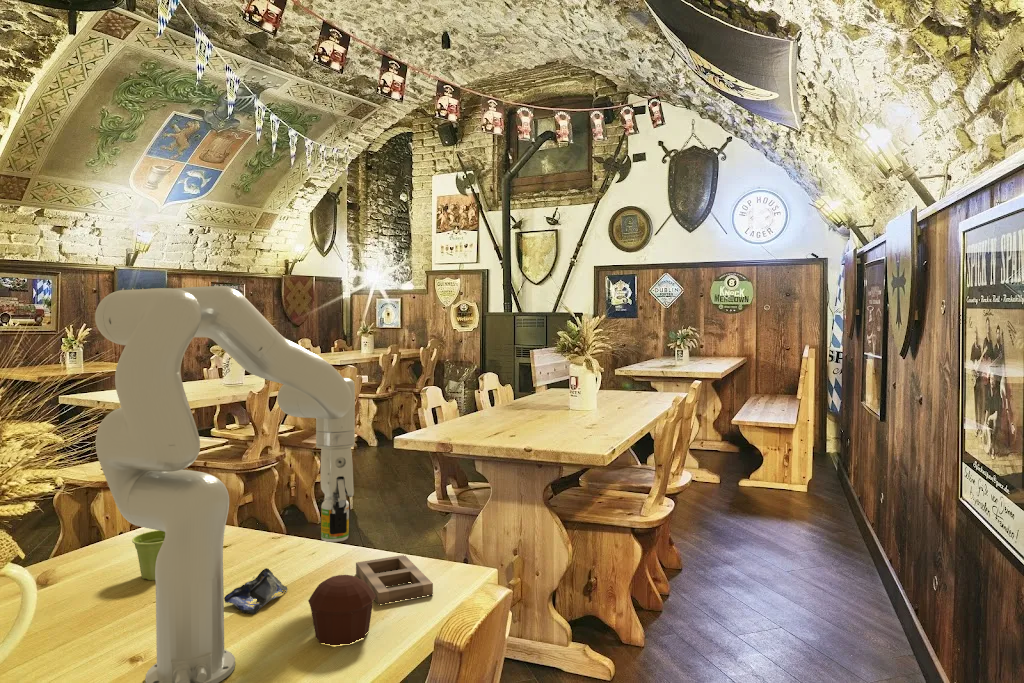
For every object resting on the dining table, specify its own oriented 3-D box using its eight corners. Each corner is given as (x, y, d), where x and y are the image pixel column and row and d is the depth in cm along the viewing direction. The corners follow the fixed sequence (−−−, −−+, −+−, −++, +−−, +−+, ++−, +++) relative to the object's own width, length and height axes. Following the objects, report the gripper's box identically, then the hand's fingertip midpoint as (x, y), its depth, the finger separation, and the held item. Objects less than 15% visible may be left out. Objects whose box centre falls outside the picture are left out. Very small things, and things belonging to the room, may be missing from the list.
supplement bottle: (315, 541, 135) (316, 492, 135) (329, 533, 140) (329, 486, 140) (340, 543, 133) (341, 493, 133) (353, 535, 139) (353, 488, 139)
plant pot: (181, 579, 146) (180, 539, 146) (131, 586, 142) (130, 545, 142) (181, 565, 154) (181, 527, 154) (134, 572, 150) (133, 533, 150)
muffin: (295, 636, 119) (295, 579, 118) (348, 615, 127) (348, 562, 127) (335, 657, 111) (335, 597, 111) (389, 634, 119) (388, 577, 119)
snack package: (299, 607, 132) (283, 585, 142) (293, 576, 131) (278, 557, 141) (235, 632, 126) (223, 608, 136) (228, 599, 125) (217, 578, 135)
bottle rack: (432, 595, 136) (432, 583, 136) (378, 605, 131) (378, 593, 131) (404, 565, 153) (404, 554, 153) (356, 573, 149) (355, 562, 148)
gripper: (364, 443, 130) (363, 538, 130) (344, 432, 146) (344, 517, 146) (324, 446, 127) (323, 543, 127) (308, 434, 143) (308, 521, 143)
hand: (334, 528), depth 137 cm, fingers closed on supplement bottle, 5 cm apart
